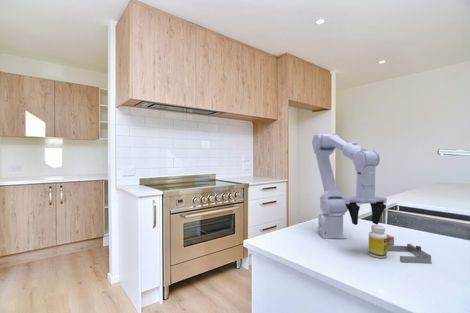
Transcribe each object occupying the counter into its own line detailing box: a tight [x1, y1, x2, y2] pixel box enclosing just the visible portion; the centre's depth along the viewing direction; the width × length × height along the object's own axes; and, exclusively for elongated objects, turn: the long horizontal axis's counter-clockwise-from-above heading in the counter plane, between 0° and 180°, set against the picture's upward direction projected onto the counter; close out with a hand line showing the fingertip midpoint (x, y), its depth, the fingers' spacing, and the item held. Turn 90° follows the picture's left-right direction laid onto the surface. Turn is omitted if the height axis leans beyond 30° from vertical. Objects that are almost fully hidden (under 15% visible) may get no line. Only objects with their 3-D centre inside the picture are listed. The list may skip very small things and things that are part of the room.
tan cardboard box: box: [385, 233, 395, 246], centre depth 93 cm, size 6×4×3 cm, turn 107°
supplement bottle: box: [367, 224, 388, 259], centre depth 82 cm, size 5×5×10 cm
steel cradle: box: [387, 243, 432, 264], centre depth 82 cm, size 9×10×3 cm
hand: (365, 223), depth 85 cm, fingers open, 7 cm apart
